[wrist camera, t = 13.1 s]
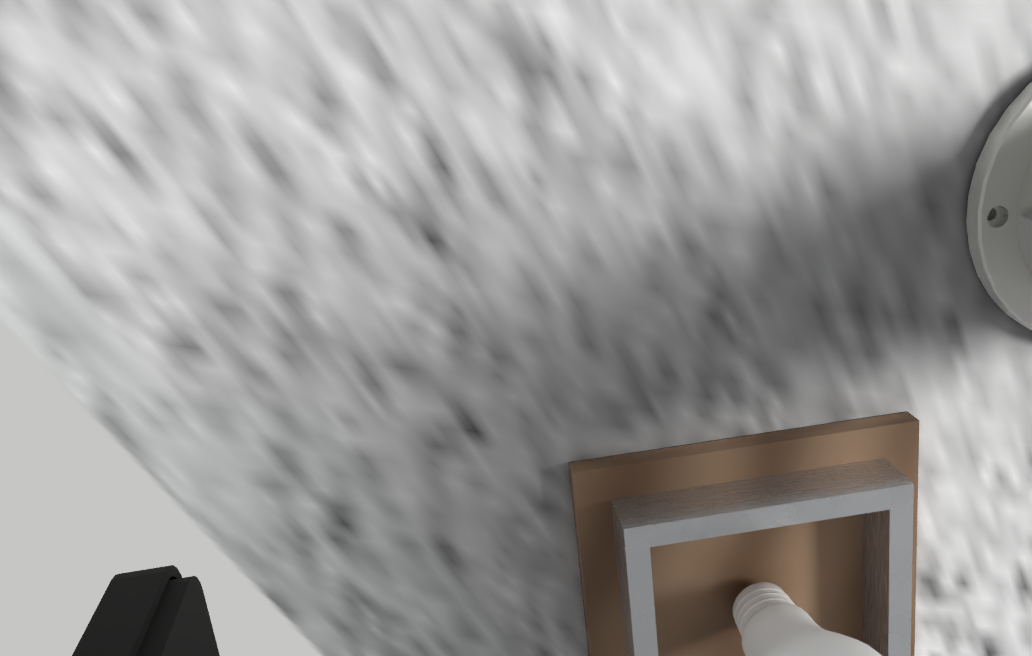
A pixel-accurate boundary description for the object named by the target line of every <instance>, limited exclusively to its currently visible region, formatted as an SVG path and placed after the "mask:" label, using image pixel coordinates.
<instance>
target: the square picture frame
mask: <svg viewBox="0 0 1032 656" xmlns="http://www.w3.org/2000/svg"><path fill="white" fill-rule="evenodd" d="M913 503H914V484H913V483H912V482H911V481H910V480H909V479H908V478H907V477H906V476H905V475H904V474H902V473H901V472H900V471H899V470H898V469H897V468H896V467H895V466H894V465H893V464H891V463H890V462H889V461H888V460H887V459H886V458H879V459H872V460H866V461H859V462H853V463H846V464H840V465H833V466H827V467H820V468H814V469H807V470H801V471H794V472H788V473H781V474H775V475H768V476H762V477H755V478H749V479H742V480H736V481H729V482H723V483H716V484H710V485H703V486H697V487H690V488H684V489H677V490H671V491H664V492H658V493H651V494H645V495H638V496H632V497H625V498H619V499H612V500H611V506H612V517H613V528H614V539H615V550H616V561H617V572H618V583H619V594H620V605H621V616H622V627H623V638H624V649H625V656H658V644H657V632H656V619H655V606H654V593H653V580H652V568H651V555H650V547H655V546H661V545H668V544H674V543H681V542H687V541H693V540H700V539H706V538H712V537H719V536H725V535H731V534H738V533H744V532H750V531H757V530H763V529H769V528H776V527H782V526H788V525H795V524H801V523H808V522H814V521H820V520H827V519H833V518H839V517H846V516H852V515H858V514H863V522H862V642H863V643H865V644H867V645H869V646H870V647H872V648H873V649H874V650H876V651H877V652H878V653H880V654H881V655H882V656H911V607H912V555H913Z"/></svg>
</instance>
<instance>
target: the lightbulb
mask: <svg viewBox="0 0 1032 656" xmlns="http://www.w3.org/2000/svg"><path fill="white" fill-rule="evenodd" d="M733 617H734V620H735V623H736V625H737V627H738V630H739V632H740V634H741V636H742V647H743V651H744V653H745V656H882V655H881V654H880V653H878V652H877V651H876V650H874V649H873V648H872V647H870V646H869V645H867V644H865V643H863V642H861V641H859V640H857V639H854V638H851V637H848V636H845V635H843V634H839V633H835V632H831V631H827V630H825V629H823V628H821V627H820V626H819V625H818V624H816V623H815V622H814V620H813V619H812V618H811V617H810V616H809V614H808V613H807V612H805V611H804V610H803V609H802V608H800V607H798V606H796V605H795V604H794V603H793V601H792V600H791V599H790V598H789V596H788V595H787V594H786V593H785V592H784V591H783V590H782V589H781V588H780V587H779V586H777V585H775V584H772V583H767V582H762V583H756V584H752V585H750V586H748V587H746V588H745V589H744V590H743V591H742V592H741V593H740V594H739V595H738V596H737V598H736V600H735V602H734V605H733Z"/></svg>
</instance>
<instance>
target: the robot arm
mask: <svg viewBox="0 0 1032 656" xmlns="http://www.w3.org/2000/svg"><path fill="white" fill-rule="evenodd" d="M989 212H990V214H989ZM988 214H989V215H988ZM966 225H967V234H968V243H969V251H970V254H971V257H972V260H973V263H974V266H975V270H976V273H977V275H978V277H979V279H980V281H981V282H982V284H983V286H984V287H985V289H986V291H987V293H988V294H989V296H990V297H991V299H992V300H993V301H994V302H995V303H996V304H997V305H998V306H999V307H1000V308H1001V309H1002V310H1003V311H1004V312H1005V313H1006V314H1007V315H1008V316H1009V317H1011V318H1012V319H1014V320H1015V321H1017V322H1018V323H1020V324H1021V325H1023V326H1025V327H1026V328H1028V329H1030V330H1032V82H1031V83H1029V84H1028V86H1027V87H1026V88H1025V89H1024V90H1023V91H1022V92H1021V93H1020V94H1019V95H1018V96H1017V98H1016V99H1015V100H1014V101H1013V102H1012V103H1011V104H1010V105H1009V106H1008V107H1007V109H1006V110H1005V112H1004V113H1003V115H1002V116H1001V118H1000V119H999V121H998V122H997V124H996V125H995V127H994V128H993V130H992V131H991V133H990V135H989V137H988V139H987V141H986V143H985V146H984V148H983V150H982V152H981V154H980V157H979V159H978V161H977V163H976V167H975V171H974V175H973V178H972V182H971V186H970V190H969V195H968V207H967V219H966ZM72 656H220V655H219V652H218V648H217V644H216V640H215V636H214V632H213V628H212V624H211V621H210V616H209V612H208V609H207V605H206V601H205V597H204V593H203V590H202V586H201V584H200V582H199V580H198V578H197V577H195V576H192V577H186V578H182V576H181V574H180V572H179V570H178V569H177V568H176V567H175V566H173V565H172V566H165V567H159V568H153V569H147V570H141V571H134V572H129V573H122V574H117V575H115V576H114V578H113V579H112V580H111V582H110V584H109V586H108V588H107V590H106V591H105V594H104V595H103V597H102V599H101V601H100V603H99V605H98V607H97V609H96V611H95V613H94V614H93V616H92V618H91V621H90V622H89V624H88V626H87V628H86V630H85V632H84V634H83V636H82V638H81V639H80V641H79V643H78V645H77V647H76V649H75V651H74V653H73V655H72Z"/></svg>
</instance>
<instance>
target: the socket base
mask: <svg viewBox="0 0 1032 656" xmlns="http://www.w3.org/2000/svg"><path fill="white" fill-rule="evenodd" d="M918 451H919V420H918V419H916V418H915V417H914V416H913V415H911V414H910V413H909V412H902V413H895V414H888V415H882V416H875V417H869V418H862V419H855V420H849V421H842V422H835V423H829V424H822V425H815V426H809V427H802V428H796V429H789V430H782V431H776V432H769V433H762V434H756V435H749V436H742V437H736V438H729V439H722V440H716V441H709V442H703V443H696V444H689V445H683V446H676V447H669V448H663V449H656V450H649V451H643V452H636V453H629V454H623V455H616V456H610V457H603V458H596V459H590V460H583V461H576V462H570V463H569V469H570V479H571V488H572V498H573V507H574V517H575V526H576V536H577V546H578V555H579V565H580V574H581V584H582V593H583V603H584V612H585V622H586V632H587V641H588V651H589V656H625V649H624V638H623V627H622V616H621V605H620V594H619V583H618V572H617V561H616V550H615V539H614V528H613V517H612V506H611V500H612V499H619V498H625V497H632V496H638V495H645V494H651V493H658V492H664V491H671V490H677V489H684V488H690V487H697V486H703V485H710V484H716V483H723V482H729V481H736V480H742V479H749V478H755V477H762V476H768V475H775V474H781V473H788V472H794V471H801V470H807V469H814V468H820V467H827V466H833V465H840V464H846V463H853V462H859V461H866V460H872V459H879V458H886V459H887V460H888V461H889V462H890V463H891V464H893V465H894V466H895V467H896V468H897V469H898V470H899V471H900V472H901V473H902V474H904V475H905V476H906V477H907V478H908V479H909V480H910V481H911V482H912V483H913V484H914V503H913V555H912V607H911V656H914V645H915V596H916V548H917V499H918ZM862 522H863V514H858V515H852V516H846V517H839V518H833V519H827V520H820V521H814V522H808V523H801V524H795V525H788V526H782V527H776V528H769V529H763V530H757V531H750V532H744V533H738V534H731V535H725V536H719V537H712V538H706V539H700V540H693V541H687V542H681V543H674V544H668V545H661V546H655V547H650V555H651V568H652V580H653V593H654V606H655V619H656V632H657V644H658V656H745V653H744V651H743V647H742V636H741V634H740V632H739V630H738V627H737V625H736V623H735V620H734V617H733V605H734V602H735V600H736V598H737V596H738V595H739V594H740V593H741V592H742V591H743V590H744V589H745V588H746V587H748V586H750V585H752V584H756V583H762V582H767V583H772V584H775V585H777V586H779V587H780V588H781V589H782V590H783V591H784V592H785V593H786V594H787V595H788V596H789V598H790V599H791V600H792V601H793V603H794V604H795V605H796V606H798V607H800V608H802V609H803V610H804V611H805V612H807V613H808V614H809V616H810V617H811V618H812V619H813V620H814V622H815V623H816V624H818V625H819V626H820V627H821V628H823V629H825V630H827V631H831V632H835V633H839V634H843V635H845V636H848V637H851V638H854V639H857V640H859V641H861V642H862Z"/></svg>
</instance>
